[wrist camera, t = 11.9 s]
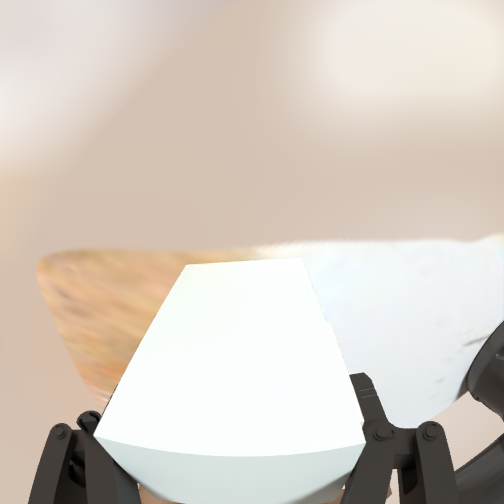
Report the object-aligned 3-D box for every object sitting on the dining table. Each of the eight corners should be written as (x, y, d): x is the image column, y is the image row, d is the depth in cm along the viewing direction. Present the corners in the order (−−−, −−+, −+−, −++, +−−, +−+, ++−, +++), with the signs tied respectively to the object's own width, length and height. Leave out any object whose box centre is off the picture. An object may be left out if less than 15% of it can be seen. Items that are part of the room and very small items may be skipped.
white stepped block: (186, 264, 19) (93, 435, 6) (301, 257, 19) (366, 442, 6) (229, 441, 27) (219, 543, 14) (296, 439, 27) (305, 542, 13)
